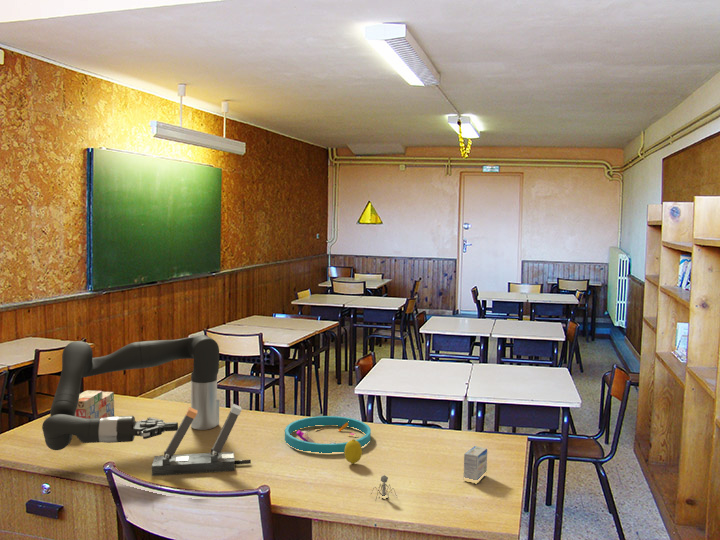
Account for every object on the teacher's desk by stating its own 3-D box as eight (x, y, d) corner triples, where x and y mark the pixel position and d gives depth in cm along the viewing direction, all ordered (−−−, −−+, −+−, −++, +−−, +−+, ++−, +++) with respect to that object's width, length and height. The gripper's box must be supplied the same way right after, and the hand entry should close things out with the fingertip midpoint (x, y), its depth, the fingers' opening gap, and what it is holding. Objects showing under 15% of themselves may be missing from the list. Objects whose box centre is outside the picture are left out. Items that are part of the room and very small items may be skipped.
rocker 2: (209, 457, 191) (233, 407, 191) (209, 452, 195) (233, 403, 195) (217, 460, 191) (241, 410, 192) (217, 455, 196) (241, 406, 196)
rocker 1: (161, 460, 188) (188, 410, 188) (162, 454, 192) (189, 406, 192) (169, 463, 188) (197, 414, 189) (170, 458, 192) (197, 410, 193)
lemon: (363, 462, 200) (364, 437, 199) (358, 468, 195) (358, 443, 194) (347, 459, 202) (348, 435, 201) (341, 466, 196) (342, 441, 196)
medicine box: (477, 485, 184) (478, 456, 184) (462, 481, 187) (464, 453, 186) (486, 476, 191) (487, 448, 190) (473, 472, 193) (474, 445, 193)
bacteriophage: (365, 499, 174) (365, 476, 173) (382, 490, 180) (382, 467, 180) (385, 507, 170) (385, 483, 169) (402, 497, 176) (402, 474, 175)
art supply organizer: (267, 439, 219) (267, 423, 219) (328, 420, 241) (328, 405, 241) (326, 464, 199) (327, 445, 198) (388, 440, 221) (388, 424, 220)
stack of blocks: (98, 415, 241) (98, 383, 240) (114, 415, 240) (114, 384, 239) (68, 434, 220) (68, 399, 219) (86, 434, 219) (85, 400, 218)
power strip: (151, 476, 186) (151, 460, 185) (154, 465, 193) (154, 450, 193) (251, 469, 192) (251, 454, 192) (250, 459, 200) (250, 445, 199)
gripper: (120, 434, 193) (179, 431, 197) (113, 449, 180) (176, 446, 184) (120, 410, 192) (179, 407, 196) (113, 424, 179) (176, 421, 183)
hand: (177, 426), depth 190 cm, fingers closed
